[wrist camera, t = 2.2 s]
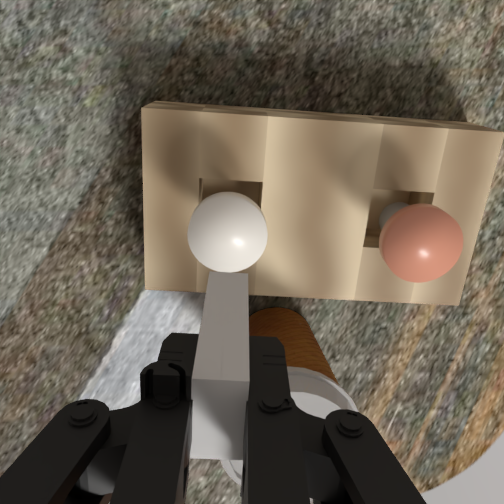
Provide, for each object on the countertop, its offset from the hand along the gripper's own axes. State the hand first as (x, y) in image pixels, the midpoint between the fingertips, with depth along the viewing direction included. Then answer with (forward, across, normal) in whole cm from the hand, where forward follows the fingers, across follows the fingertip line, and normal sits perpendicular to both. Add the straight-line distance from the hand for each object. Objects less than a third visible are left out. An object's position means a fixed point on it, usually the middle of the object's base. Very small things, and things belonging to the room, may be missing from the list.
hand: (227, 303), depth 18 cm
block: (+18, +5, 0) cm, 18 cm away
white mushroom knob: (+13, 0, 0) cm, 13 cm away
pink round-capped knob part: (+13, +11, 0) cm, 17 cm away
